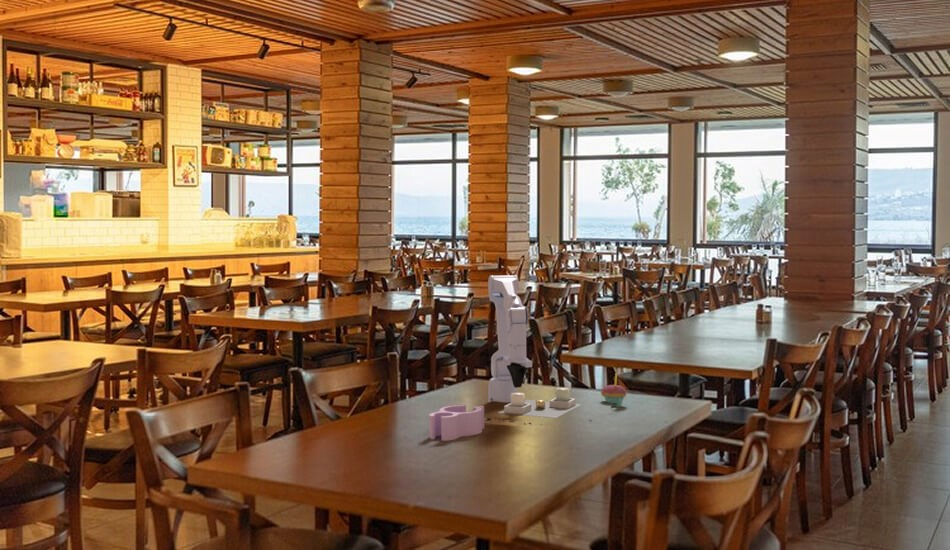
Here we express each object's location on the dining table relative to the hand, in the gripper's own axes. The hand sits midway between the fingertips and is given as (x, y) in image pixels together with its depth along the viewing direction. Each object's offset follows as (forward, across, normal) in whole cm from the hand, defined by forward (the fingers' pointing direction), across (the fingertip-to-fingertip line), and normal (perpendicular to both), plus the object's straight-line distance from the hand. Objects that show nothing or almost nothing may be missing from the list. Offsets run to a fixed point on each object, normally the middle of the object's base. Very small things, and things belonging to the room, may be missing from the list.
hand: (517, 387), depth 317 cm
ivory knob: (+6, 0, 0) cm, 6 cm away
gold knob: (+8, 0, +9) cm, 12 cm away
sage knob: (+6, 0, +17) cm, 18 cm away
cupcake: (+10, +3, +36) cm, 37 cm away
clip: (+10, +12, -29) cm, 33 cm away
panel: (+9, 0, +9) cm, 13 cm away
